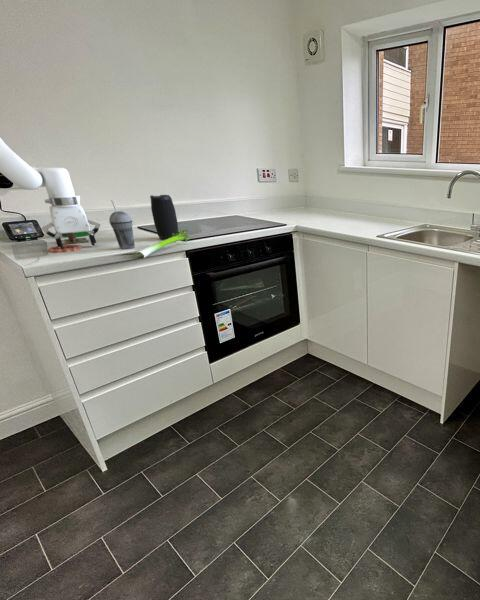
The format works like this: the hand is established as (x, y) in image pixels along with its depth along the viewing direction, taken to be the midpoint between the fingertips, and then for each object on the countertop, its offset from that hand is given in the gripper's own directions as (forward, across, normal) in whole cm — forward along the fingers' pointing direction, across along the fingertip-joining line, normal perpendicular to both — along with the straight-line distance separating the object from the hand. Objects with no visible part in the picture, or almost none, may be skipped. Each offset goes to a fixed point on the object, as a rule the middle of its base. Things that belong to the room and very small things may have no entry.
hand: (78, 246), depth 139 cm
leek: (+2, +26, -17) cm, 31 cm away
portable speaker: (+2, +33, +5) cm, 33 cm away
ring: (+1, -4, 0) cm, 4 cm away
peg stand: (+2, 0, +15) cm, 15 cm away
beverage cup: (+2, +14, -11) cm, 18 cm away
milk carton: (+2, +3, +36) cm, 36 cm away
